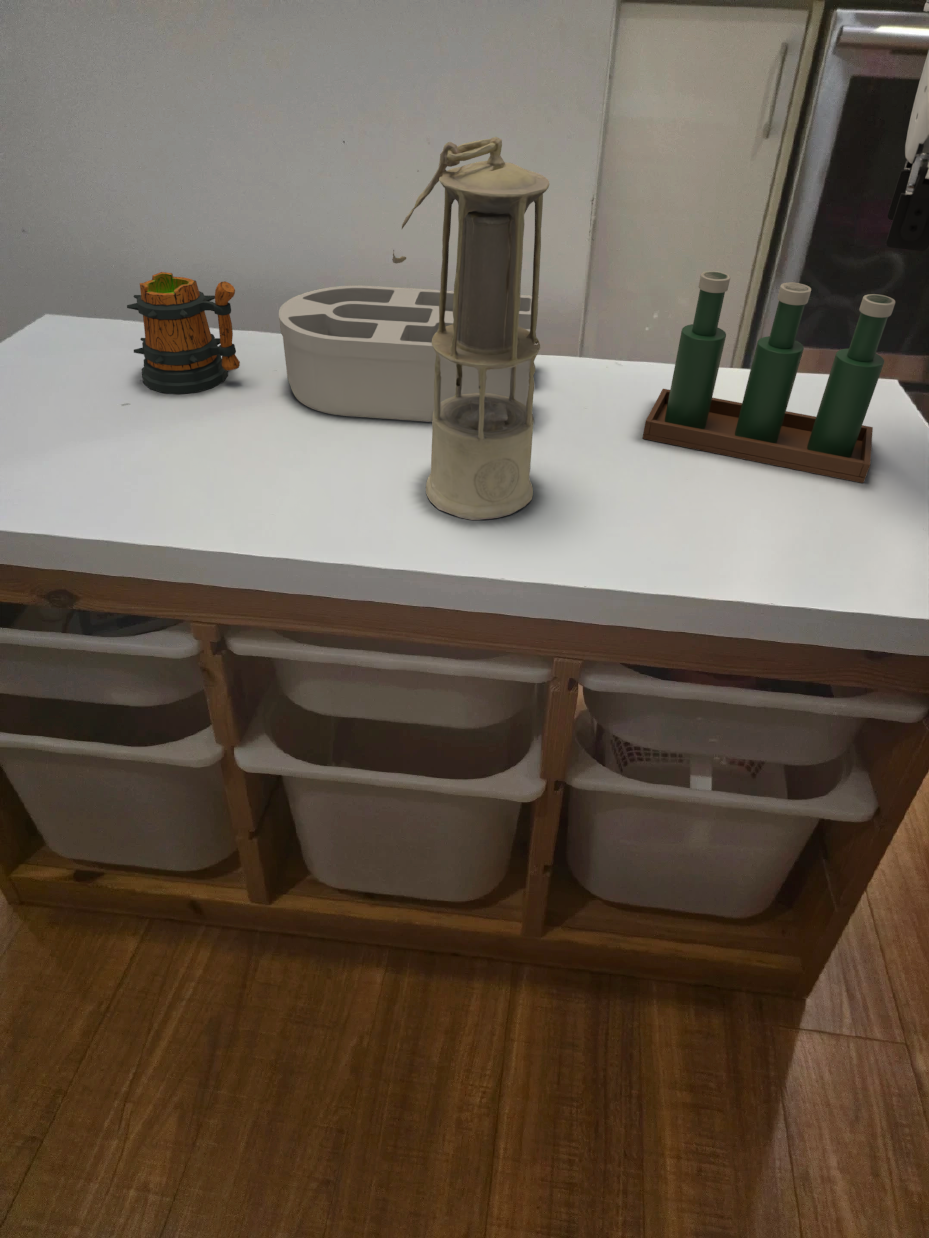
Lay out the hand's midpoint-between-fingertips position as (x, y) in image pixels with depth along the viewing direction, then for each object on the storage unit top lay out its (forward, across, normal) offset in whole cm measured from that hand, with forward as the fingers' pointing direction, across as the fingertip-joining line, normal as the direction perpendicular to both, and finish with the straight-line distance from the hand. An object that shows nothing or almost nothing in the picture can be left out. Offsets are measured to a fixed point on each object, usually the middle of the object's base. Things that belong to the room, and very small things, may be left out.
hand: (905, 233), depth 74 cm
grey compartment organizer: (+22, -3, +46) cm, 51 cm away
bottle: (+21, +1, 0) cm, 21 cm away
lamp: (+22, -21, +32) cm, 44 cm away
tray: (+22, +1, +8) cm, 23 cm away
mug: (+22, -11, +70) cm, 74 cm away
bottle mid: (+21, +1, +8) cm, 23 cm away
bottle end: (+21, +1, +15) cm, 26 cm away
